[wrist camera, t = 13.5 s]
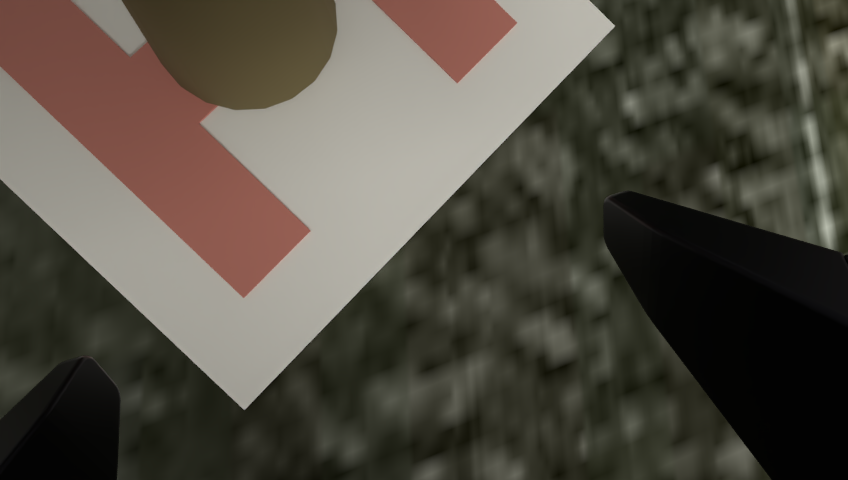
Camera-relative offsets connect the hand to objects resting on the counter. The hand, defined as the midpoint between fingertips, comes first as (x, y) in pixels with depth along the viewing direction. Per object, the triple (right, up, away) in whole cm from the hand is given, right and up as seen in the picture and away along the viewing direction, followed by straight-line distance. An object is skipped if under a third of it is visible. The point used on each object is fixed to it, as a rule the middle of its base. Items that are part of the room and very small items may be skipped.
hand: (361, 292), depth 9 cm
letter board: (-5, +8, +9) cm, 13 cm away
